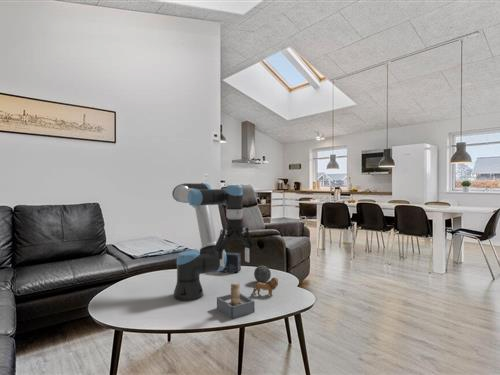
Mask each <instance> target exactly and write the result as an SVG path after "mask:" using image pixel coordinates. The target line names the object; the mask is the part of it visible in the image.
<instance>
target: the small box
mask: <svg viewBox="0 0 500 375" xmlns="http://www.w3.org/2000/svg"><path fill="white" fill-rule="evenodd" d="M241 254H242V253H241V252H226V265H225V268H224V269H223V270H221V271H219V272H220V273H231V272H237V273H236V274H238V273H240V272H241V271H240V270H242V267H241V265H242V263H241V262H242V261H241V256H242V255H241ZM239 271H240V272H239Z"/></svg>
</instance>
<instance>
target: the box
mask: <svg viewBox="0 0 500 375" xmlns="http://www.w3.org/2000/svg"><path fill="white" fill-rule="evenodd" d="M216 309H218V310H219V311H221V312H222V313H223V314H225V315H226V316H227V317H229V318H230V319H231V320H233V319H236V318H240V317H243V316H246V315H249V314H253V313H255V312H256V310H255V300H253V299H251V298H250V297H248V296H246V295H245V294H243V293H241V292H240V304H239V305H235V306H232V305H231V293H230V294H225V295H221V296H218V297H216Z"/></svg>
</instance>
